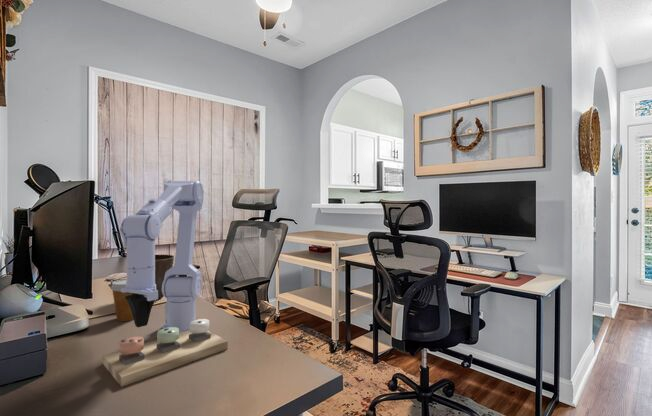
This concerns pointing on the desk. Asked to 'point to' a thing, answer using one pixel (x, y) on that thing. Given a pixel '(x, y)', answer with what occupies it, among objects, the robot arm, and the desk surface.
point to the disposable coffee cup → (121, 301)
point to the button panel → (162, 356)
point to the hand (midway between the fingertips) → (141, 325)
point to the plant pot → (162, 270)
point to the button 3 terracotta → (131, 345)
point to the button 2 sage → (168, 335)
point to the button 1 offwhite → (199, 326)
